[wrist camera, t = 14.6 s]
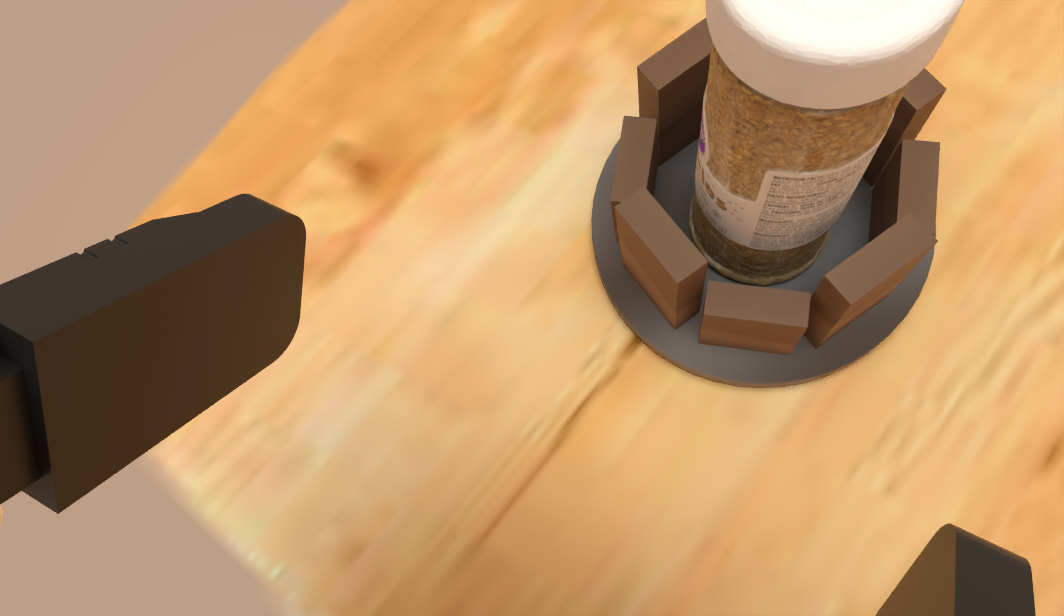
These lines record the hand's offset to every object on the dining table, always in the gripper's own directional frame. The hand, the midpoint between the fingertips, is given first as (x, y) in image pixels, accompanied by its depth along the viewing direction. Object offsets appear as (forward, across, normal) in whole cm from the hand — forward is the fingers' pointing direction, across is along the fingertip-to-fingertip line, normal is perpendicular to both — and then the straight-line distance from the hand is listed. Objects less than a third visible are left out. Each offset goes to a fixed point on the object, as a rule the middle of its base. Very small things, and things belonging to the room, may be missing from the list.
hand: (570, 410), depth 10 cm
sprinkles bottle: (+19, 0, +5) cm, 19 cm away
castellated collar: (+19, 0, +5) cm, 20 cm away
